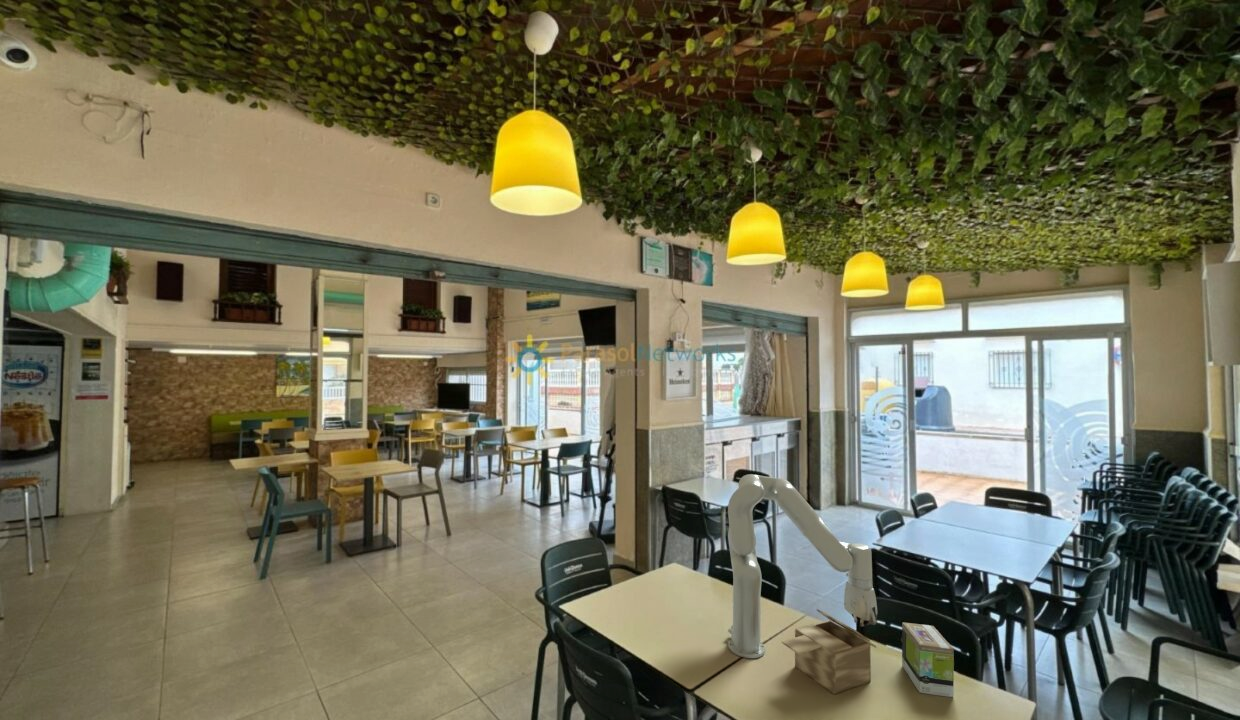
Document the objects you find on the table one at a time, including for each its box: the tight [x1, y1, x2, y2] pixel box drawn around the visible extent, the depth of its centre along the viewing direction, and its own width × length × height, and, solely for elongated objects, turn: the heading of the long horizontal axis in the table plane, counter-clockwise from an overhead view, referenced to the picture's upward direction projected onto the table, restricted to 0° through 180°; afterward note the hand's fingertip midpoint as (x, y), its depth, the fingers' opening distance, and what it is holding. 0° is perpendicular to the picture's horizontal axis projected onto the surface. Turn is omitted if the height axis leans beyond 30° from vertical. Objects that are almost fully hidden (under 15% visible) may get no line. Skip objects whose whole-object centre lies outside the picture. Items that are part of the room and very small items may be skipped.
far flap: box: [816, 608, 877, 649], centre depth 163 cm, size 15×18×1 cm
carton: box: [794, 619, 872, 695], centre depth 159 cm, size 16×16×12 cm
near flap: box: [781, 623, 852, 654], centre depth 156 cm, size 15×18×1 cm
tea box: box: [901, 621, 955, 698], centre depth 156 cm, size 15×10×15 cm, turn 168°
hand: (861, 635), depth 168 cm, fingers closed
